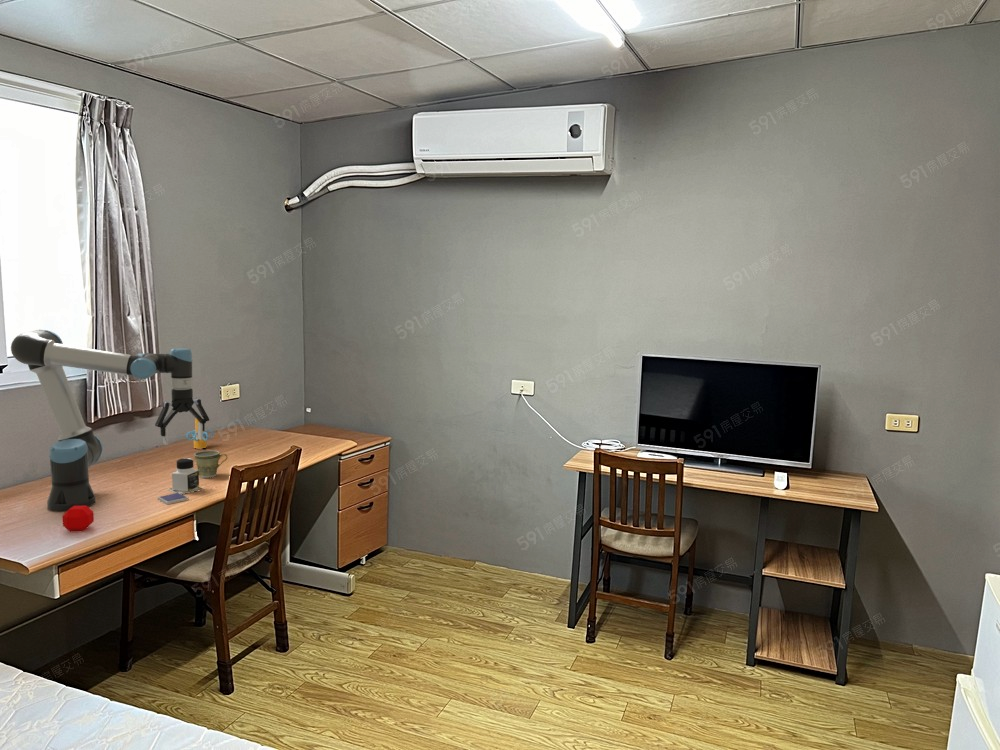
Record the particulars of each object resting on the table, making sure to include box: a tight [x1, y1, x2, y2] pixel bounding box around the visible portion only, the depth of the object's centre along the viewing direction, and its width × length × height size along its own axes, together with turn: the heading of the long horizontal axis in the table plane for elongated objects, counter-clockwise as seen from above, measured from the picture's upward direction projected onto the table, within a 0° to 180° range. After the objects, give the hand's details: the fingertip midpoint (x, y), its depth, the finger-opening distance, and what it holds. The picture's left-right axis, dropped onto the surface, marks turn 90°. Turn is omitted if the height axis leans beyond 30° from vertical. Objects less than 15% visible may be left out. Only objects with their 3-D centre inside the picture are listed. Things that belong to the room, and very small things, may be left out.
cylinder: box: [186, 417, 214, 449], centre depth 348 cm, size 12×10×15 cm
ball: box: [62, 505, 95, 533], centre depth 236 cm, size 8×8×8 cm
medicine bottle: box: [171, 457, 200, 492], centre depth 281 cm, size 7×7×12 cm
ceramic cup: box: [193, 449, 228, 479], centre depth 302 cm, size 13×10×10 cm
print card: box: [167, 486, 204, 495], centre depth 282 cm, size 10×10×1 cm
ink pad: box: [157, 493, 189, 505], centre depth 270 cm, size 8×8×1 cm
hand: (183, 441), depth 279 cm, fingers open, 13 cm apart
